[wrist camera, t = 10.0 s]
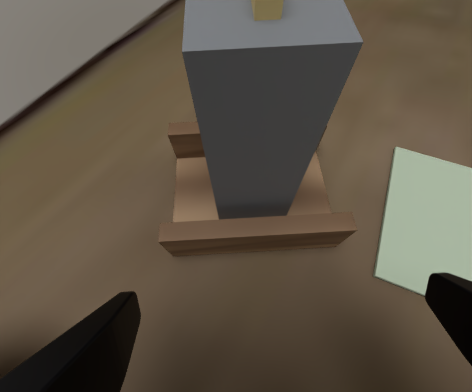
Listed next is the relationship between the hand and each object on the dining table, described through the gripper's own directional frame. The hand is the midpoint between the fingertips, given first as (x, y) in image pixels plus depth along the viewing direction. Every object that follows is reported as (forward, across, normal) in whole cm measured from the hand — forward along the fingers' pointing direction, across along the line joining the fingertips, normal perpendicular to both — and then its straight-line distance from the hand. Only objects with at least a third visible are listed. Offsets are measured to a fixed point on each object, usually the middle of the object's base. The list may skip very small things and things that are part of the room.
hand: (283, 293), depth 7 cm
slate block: (+12, 0, 0) cm, 13 cm away
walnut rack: (+13, 0, +1) cm, 13 cm away
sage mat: (+10, -15, +3) cm, 18 cm away
